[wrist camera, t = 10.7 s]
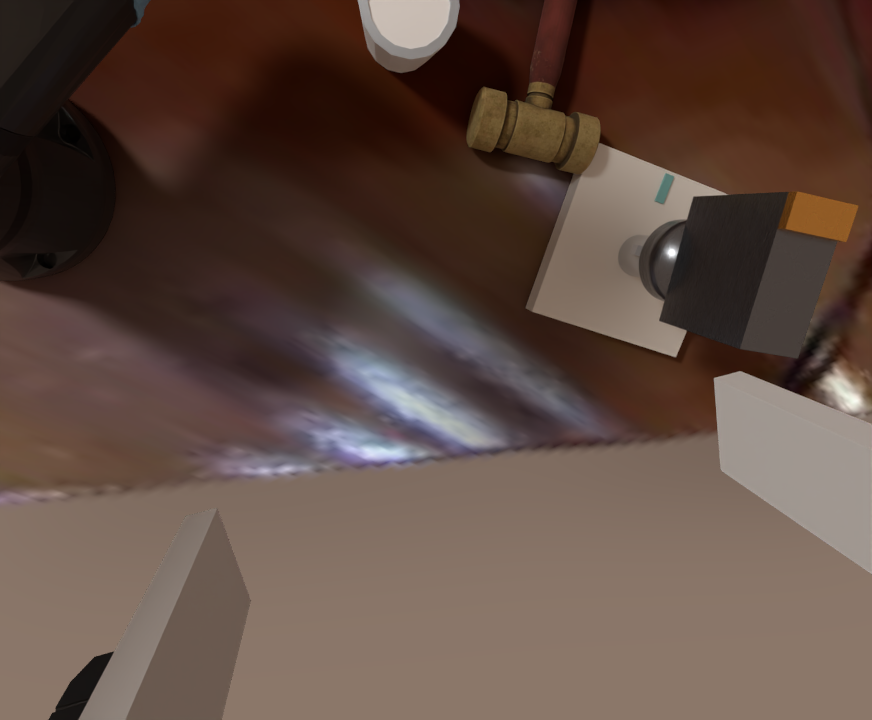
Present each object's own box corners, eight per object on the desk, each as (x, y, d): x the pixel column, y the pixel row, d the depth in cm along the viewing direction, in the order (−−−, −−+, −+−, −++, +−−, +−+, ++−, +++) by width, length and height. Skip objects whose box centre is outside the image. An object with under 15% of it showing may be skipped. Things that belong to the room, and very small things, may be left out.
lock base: (525, 307, 52) (556, 324, 44) (584, 143, 49) (628, 130, 41) (664, 352, 55) (715, 374, 47) (727, 200, 52) (792, 198, 45)
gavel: (536, -163, 40) (661, -116, 42) (516, -122, 45) (630, -81, 47) (474, 140, 43) (593, 171, 45) (462, 150, 48) (570, 178, 50)
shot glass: (422, -30, 44) (436, -74, 37) (456, 61, 46) (474, 35, 39) (341, 4, 44) (340, -33, 37) (378, 95, 46) (384, 75, 39)
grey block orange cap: (697, 324, 46) (822, 363, 34) (625, 311, 44) (728, 348, 32) (730, 210, 44) (876, 209, 32) (655, 194, 42) (778, 187, 30)
